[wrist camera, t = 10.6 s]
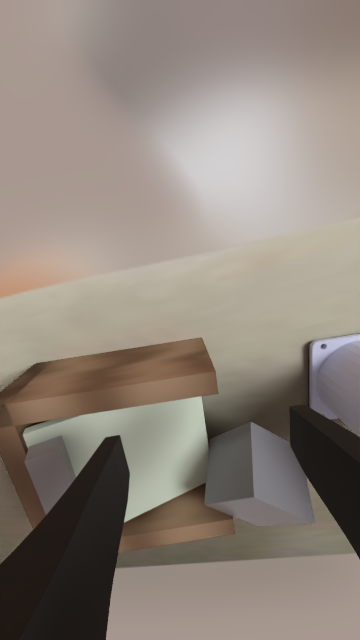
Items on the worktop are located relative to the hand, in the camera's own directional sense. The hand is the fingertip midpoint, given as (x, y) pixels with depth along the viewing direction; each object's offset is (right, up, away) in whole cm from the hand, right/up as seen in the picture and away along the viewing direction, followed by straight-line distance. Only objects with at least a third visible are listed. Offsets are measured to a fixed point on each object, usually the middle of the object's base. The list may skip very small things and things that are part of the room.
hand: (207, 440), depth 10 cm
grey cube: (+3, -8, +9) cm, 12 cm away
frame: (-5, -4, +12) cm, 13 cm away
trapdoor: (-5, -5, +8) cm, 11 cm away
